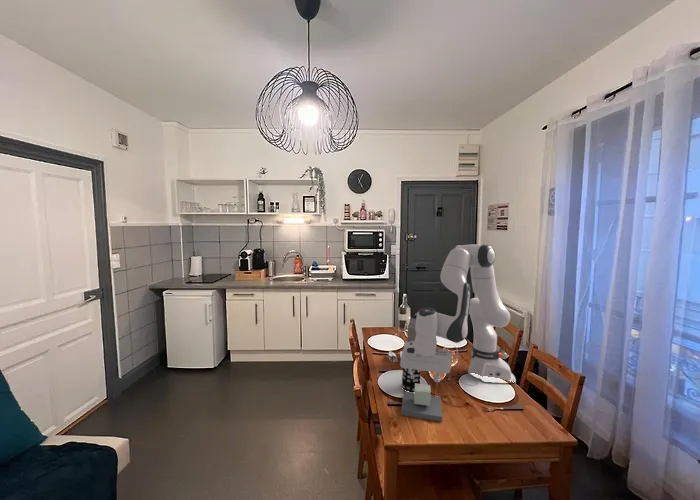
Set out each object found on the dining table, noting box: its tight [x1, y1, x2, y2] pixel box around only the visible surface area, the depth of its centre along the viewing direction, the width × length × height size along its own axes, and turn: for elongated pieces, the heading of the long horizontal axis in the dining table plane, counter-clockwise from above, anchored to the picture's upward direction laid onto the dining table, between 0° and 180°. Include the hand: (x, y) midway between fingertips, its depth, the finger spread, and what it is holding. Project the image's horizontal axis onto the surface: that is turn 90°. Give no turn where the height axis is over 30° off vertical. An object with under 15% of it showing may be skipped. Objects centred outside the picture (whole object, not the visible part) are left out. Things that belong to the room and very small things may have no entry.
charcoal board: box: [400, 391, 443, 423], centre depth 132 cm, size 16×14×2 cm
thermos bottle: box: [406, 314, 417, 342], centre depth 170 cm, size 8×8×28 cm
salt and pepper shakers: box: [388, 350, 403, 363], centre depth 180 cm, size 12×4×11 cm
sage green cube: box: [413, 383, 432, 406], centre depth 132 cm, size 6×6×6 cm
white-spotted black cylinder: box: [401, 368, 422, 393], centre depth 147 cm, size 8×8×20 cm
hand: (424, 379), depth 131 cm, fingers open, 8 cm apart
